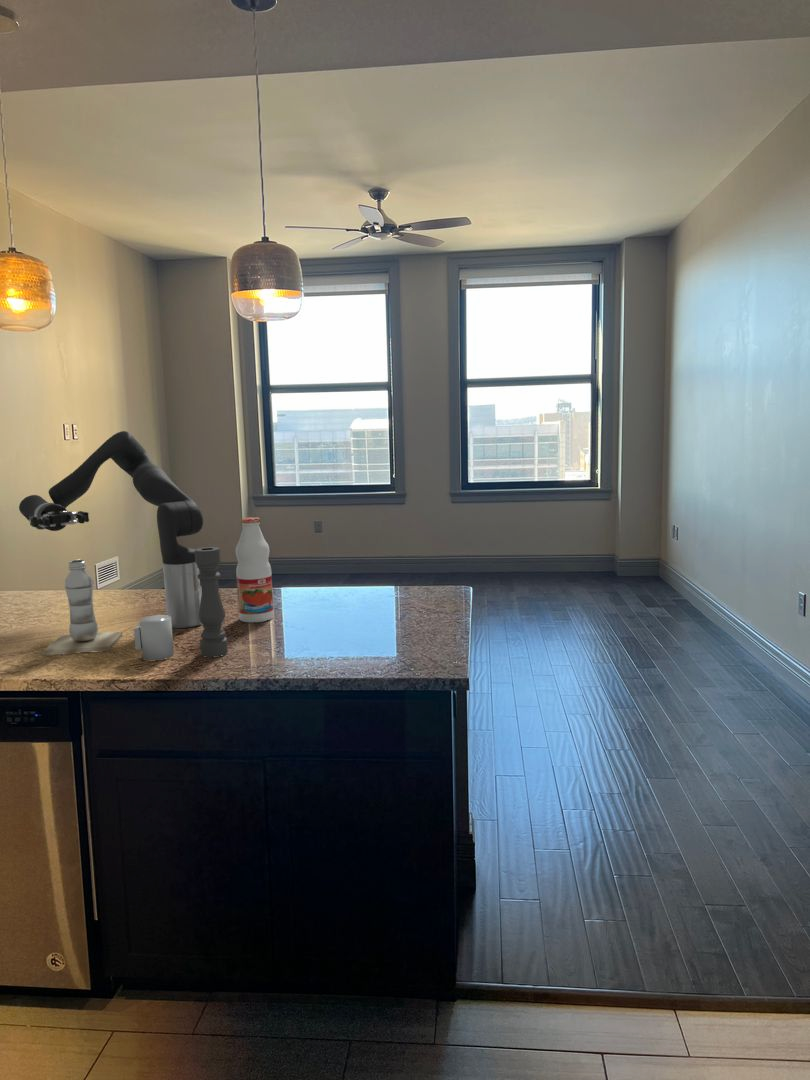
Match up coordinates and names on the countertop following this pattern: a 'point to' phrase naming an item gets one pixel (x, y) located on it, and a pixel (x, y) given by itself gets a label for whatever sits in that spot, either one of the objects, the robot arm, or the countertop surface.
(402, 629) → the countertop surface
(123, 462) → the robot arm
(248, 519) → the fruit juice
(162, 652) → the grey mug
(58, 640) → the plain beige board
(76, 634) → the plastic bottle
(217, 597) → the candle holder
